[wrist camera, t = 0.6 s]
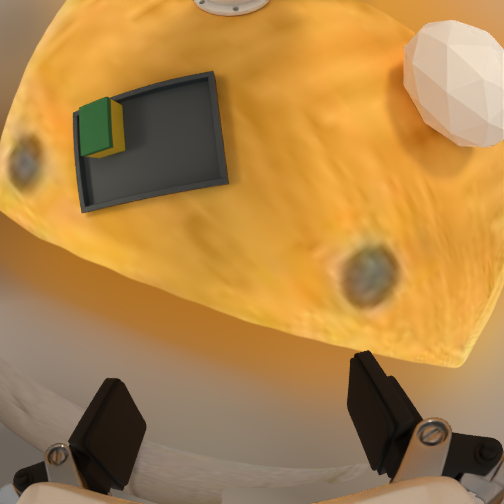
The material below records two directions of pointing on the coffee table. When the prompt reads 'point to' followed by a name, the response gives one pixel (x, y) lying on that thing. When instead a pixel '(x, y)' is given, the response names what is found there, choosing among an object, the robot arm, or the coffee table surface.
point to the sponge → (101, 128)
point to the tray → (157, 145)
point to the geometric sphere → (457, 82)
